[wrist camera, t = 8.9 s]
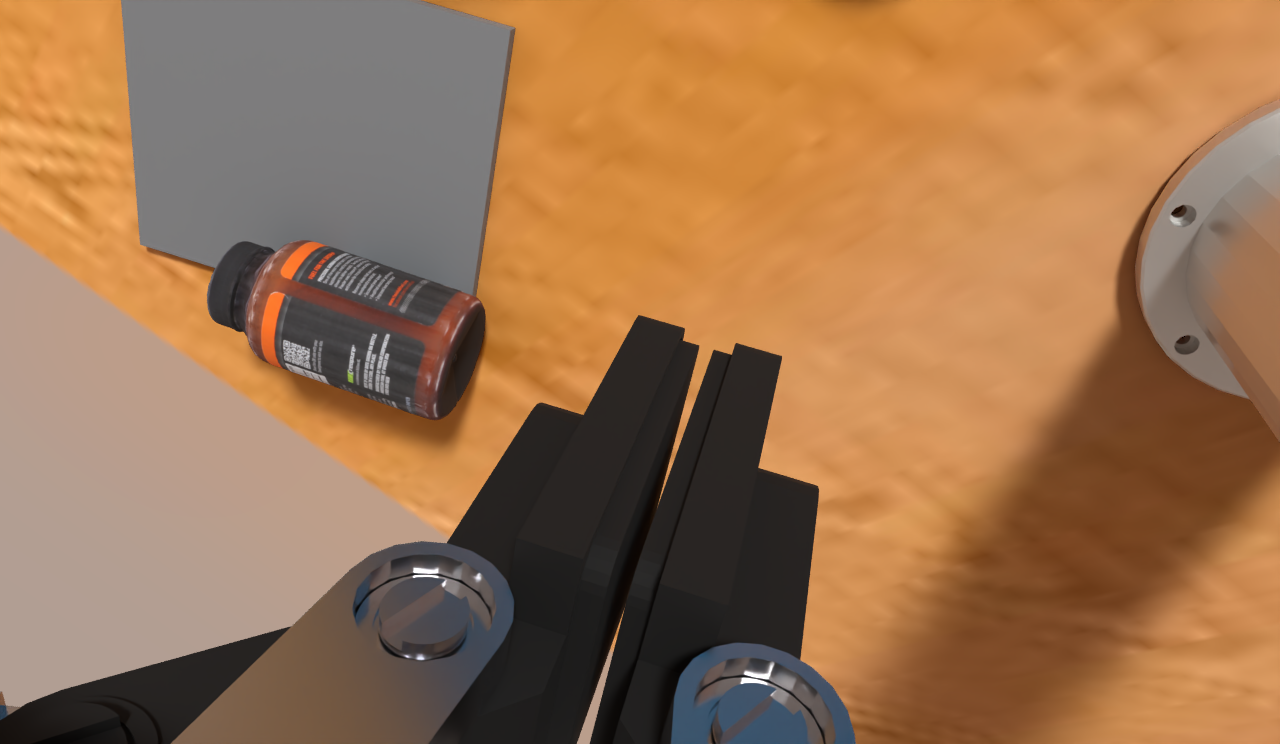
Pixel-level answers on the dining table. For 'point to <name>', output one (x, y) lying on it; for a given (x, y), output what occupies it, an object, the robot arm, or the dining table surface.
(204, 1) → the mat
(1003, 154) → the dining table surface
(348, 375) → the supplement bottle
